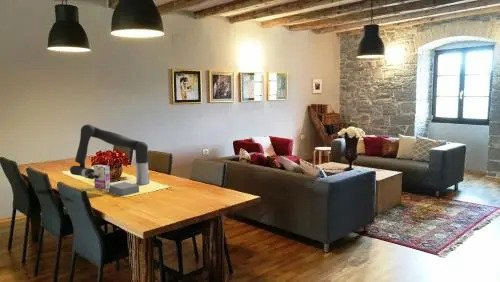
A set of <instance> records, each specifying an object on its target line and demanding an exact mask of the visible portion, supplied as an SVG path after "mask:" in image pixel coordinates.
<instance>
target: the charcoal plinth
mask: <svg viewBox="0 0 500 282" xmlns="http://www.w3.org/2000/svg"><path fill="white" fill-rule="evenodd" d="M108 193H111V194H115V195H117V196H122V197H125V196H128V195H133V194H136V193H140V185H138V184H135V183H131V182H128V181H127V182H126V181H124V182H118V183H114V184H110V189H108Z"/></svg>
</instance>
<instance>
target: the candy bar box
mask: <svg viewBox="0 0 500 282" xmlns="http://www.w3.org/2000/svg"><path fill="white" fill-rule="evenodd" d="M93 169H94V175H97V176H98V179H96V178H94V188H95V189H100V190H106V191H107V190H109V189H110V185H111V168H110V165H104V164H96V165H95V164H94V165H93Z"/></svg>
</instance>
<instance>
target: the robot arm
mask: <svg viewBox="0 0 500 282" xmlns="http://www.w3.org/2000/svg"><path fill="white" fill-rule="evenodd" d="M91 137H92V138H95V139H99V140H101V141H103V142H104V143H105V142H106V143H107V144H109V145H112V146H116V147H120V148H126V149H131V150H133V151H135V172H136V173H135V174H136V185H139V186H141V185H142V186H145V185H148V184H150V171H149V153H148V152H149V151H148V150H149V147H148V144H147V143H146V142H144V141H140V140H135V139H132V138H129V137H127V136H124V135H122V134H119V133H116V132H112V131H109V130H105V129H101V128H98V127H96V126H94V125H92V124H85V125H82V127H81V128H80V139H79V144H78V149H77V152H76V155H75V161H74V162H76V163H77V164H79V165H72V166H71V167H70V168H69V172H70V174H71V175H73V176H79V177H83V178H85V179H90V180H93V179H94V178H96V179H98V176H97V175H94V168H90V167H86V159H87V154H88V150H89V149H88V147H89V142H90V139H91Z"/></svg>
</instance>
